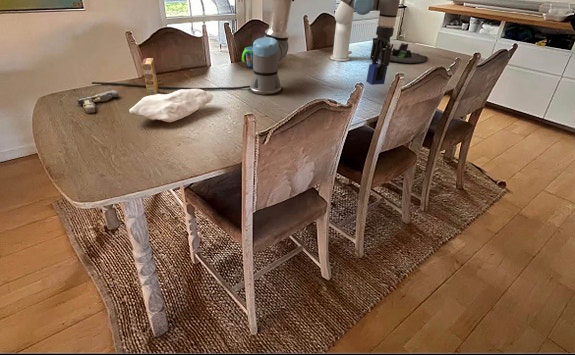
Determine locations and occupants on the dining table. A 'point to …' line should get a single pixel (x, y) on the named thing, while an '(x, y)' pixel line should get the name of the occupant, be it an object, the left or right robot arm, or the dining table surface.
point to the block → (375, 74)
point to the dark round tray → (405, 55)
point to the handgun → (95, 100)
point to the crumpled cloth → (171, 104)
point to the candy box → (150, 76)
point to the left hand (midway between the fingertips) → (376, 77)
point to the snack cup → (248, 56)
